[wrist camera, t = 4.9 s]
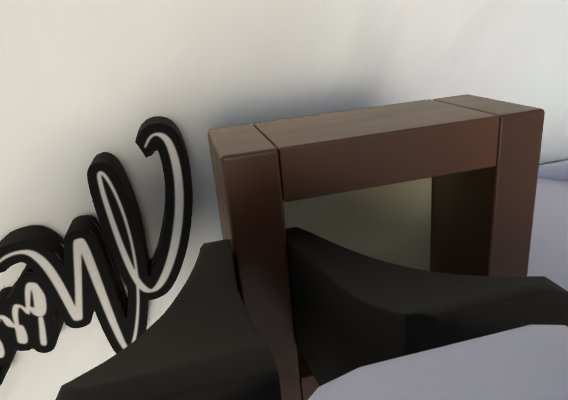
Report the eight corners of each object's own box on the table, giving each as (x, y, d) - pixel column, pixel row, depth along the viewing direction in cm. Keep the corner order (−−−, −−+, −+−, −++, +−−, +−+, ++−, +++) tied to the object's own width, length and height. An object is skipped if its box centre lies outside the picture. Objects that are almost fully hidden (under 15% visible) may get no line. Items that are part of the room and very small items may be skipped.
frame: (468, 93, 13) (546, 108, 11) (458, 302, 16) (519, 358, 13) (207, 129, 12) (220, 156, 9) (239, 352, 14) (258, 427, 12)
